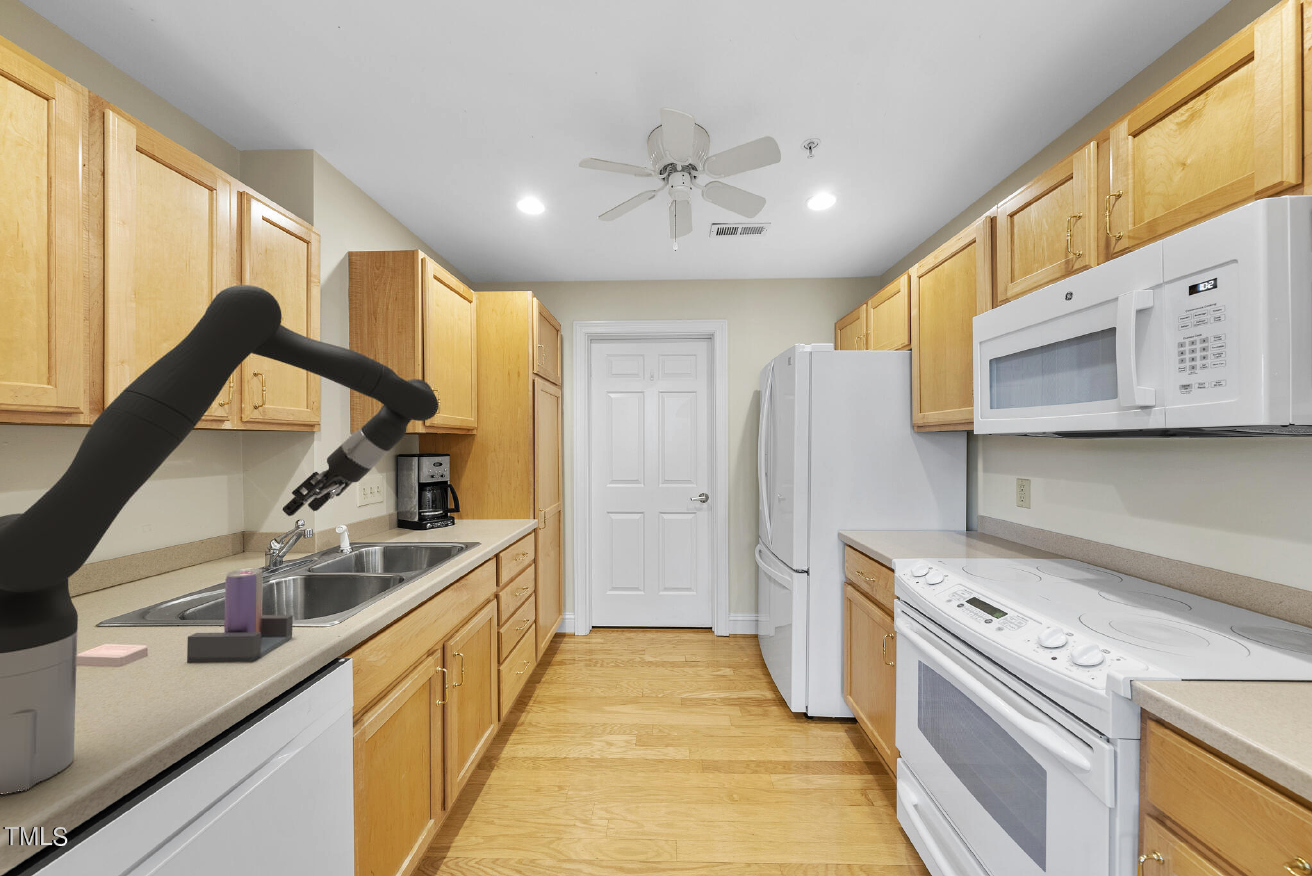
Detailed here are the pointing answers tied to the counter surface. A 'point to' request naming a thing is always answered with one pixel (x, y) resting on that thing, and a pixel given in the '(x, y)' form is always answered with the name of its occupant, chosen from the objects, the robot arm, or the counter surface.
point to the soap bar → (112, 655)
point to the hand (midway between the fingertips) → (299, 510)
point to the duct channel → (240, 642)
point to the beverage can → (243, 601)
